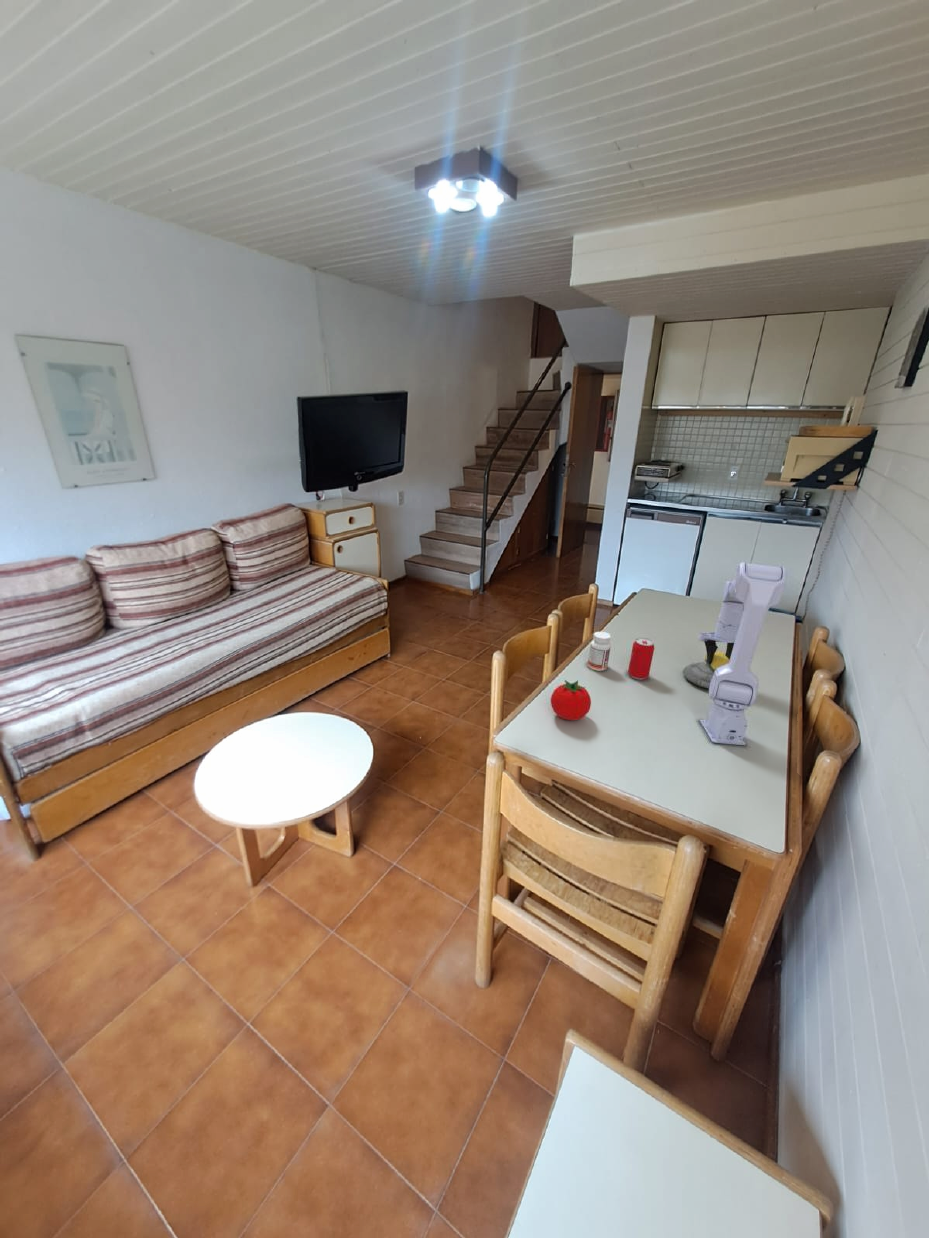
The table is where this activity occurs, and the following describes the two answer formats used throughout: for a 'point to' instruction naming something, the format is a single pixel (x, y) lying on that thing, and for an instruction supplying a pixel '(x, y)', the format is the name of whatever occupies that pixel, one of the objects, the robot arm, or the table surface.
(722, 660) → the sponge
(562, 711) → the tomato
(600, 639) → the pill bottle
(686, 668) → the flying saucer
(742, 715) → the robot arm
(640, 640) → the beverage can
